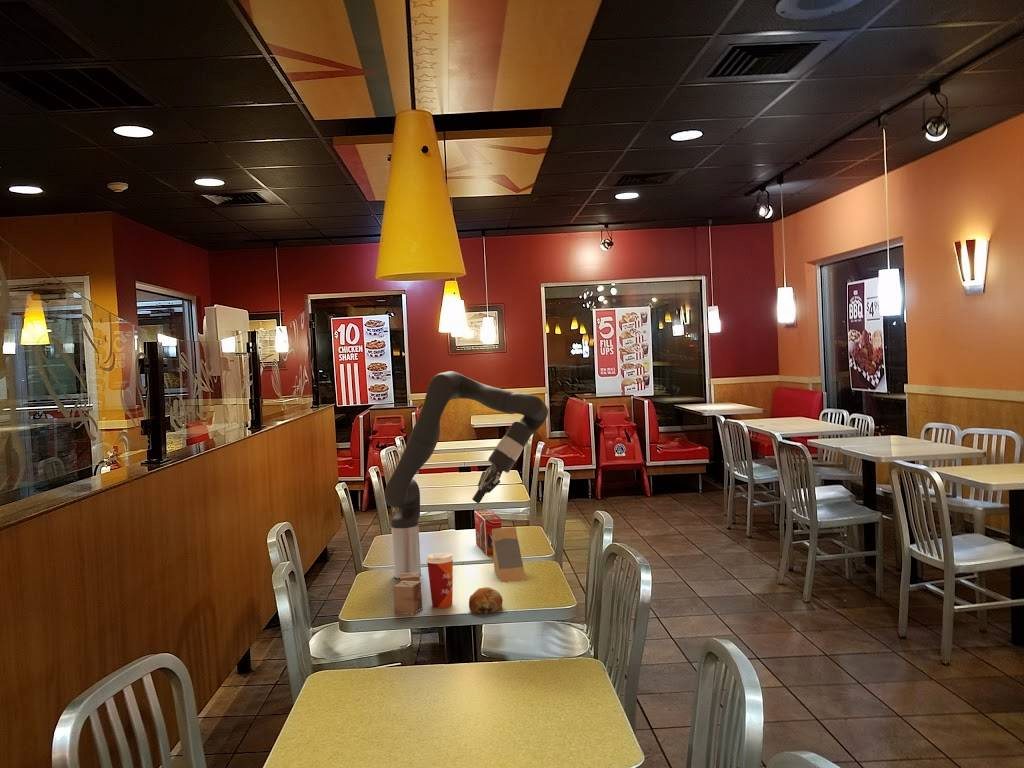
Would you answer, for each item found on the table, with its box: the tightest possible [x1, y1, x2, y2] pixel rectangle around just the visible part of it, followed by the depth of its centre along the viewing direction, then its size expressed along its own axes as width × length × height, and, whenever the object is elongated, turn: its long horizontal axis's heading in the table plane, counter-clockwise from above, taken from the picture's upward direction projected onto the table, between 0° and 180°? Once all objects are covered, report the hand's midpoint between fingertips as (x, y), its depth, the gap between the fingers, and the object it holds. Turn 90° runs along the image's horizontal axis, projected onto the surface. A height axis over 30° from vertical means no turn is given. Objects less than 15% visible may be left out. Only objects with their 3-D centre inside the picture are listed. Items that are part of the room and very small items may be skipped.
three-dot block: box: [393, 580, 423, 614], centre depth 242 cm, size 6×6×8 cm
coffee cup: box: [425, 552, 455, 609], centre depth 245 cm, size 8×8×15 cm
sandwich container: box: [492, 526, 527, 583], centre depth 275 cm, size 9×15×15 cm, turn 11°
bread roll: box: [468, 586, 504, 614], centre depth 240 cm, size 10×10×8 cm
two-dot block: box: [399, 572, 421, 583], centre depth 252 cm, size 6×6×8 cm
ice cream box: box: [474, 509, 502, 556], centre depth 316 cm, size 20×6×13 cm, turn 13°
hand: (475, 501), depth 251 cm, fingers closed
